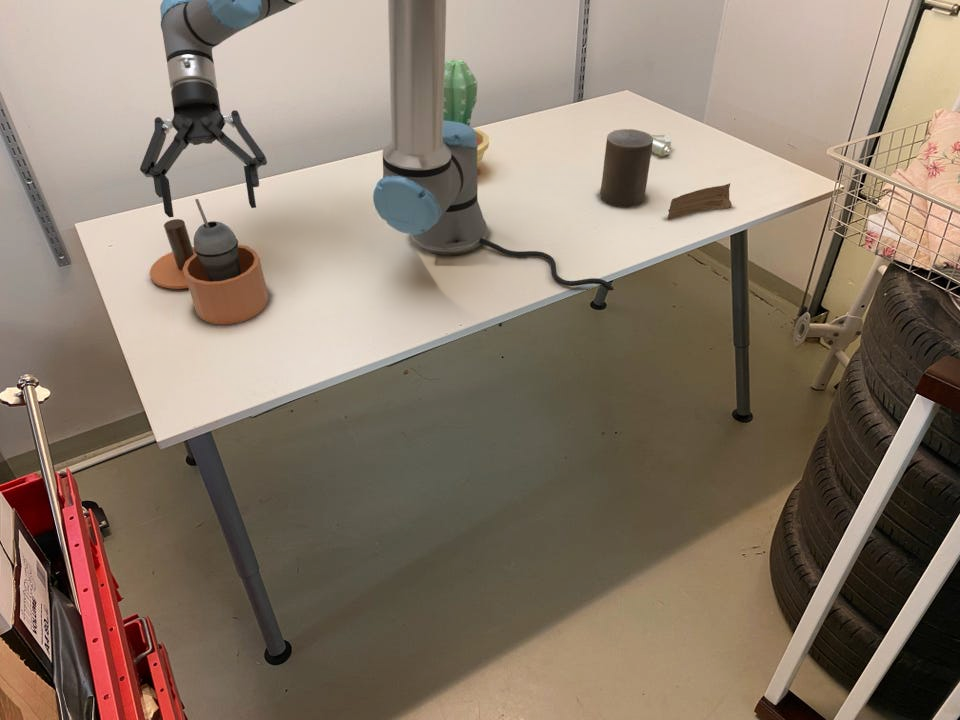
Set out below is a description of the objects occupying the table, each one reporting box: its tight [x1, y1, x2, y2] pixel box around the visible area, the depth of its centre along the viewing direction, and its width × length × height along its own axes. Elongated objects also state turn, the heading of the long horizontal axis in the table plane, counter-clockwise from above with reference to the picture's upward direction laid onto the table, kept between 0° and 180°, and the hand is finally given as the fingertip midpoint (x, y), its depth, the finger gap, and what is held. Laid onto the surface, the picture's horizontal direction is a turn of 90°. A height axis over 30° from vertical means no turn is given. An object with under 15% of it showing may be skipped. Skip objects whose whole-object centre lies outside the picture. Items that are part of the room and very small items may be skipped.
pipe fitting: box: [650, 134, 672, 158], centre depth 176 cm, size 8×4×7 cm
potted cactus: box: [443, 58, 490, 167], centre depth 161 cm, size 15×15×25 cm
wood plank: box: [667, 182, 732, 220], centre depth 152 cm, size 15×2×5 cm, turn 114°
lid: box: [149, 218, 195, 290], centre depth 135 cm, size 14×14×10 cm
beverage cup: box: [193, 198, 241, 282], centre depth 123 cm, size 7×7×20 cm
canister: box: [183, 244, 269, 325], centre depth 127 cm, size 13×13×8 cm
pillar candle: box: [599, 128, 653, 208], centre depth 155 cm, size 10×10×15 cm
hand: (211, 210), depth 122 cm, fingers open, 13 cm apart
